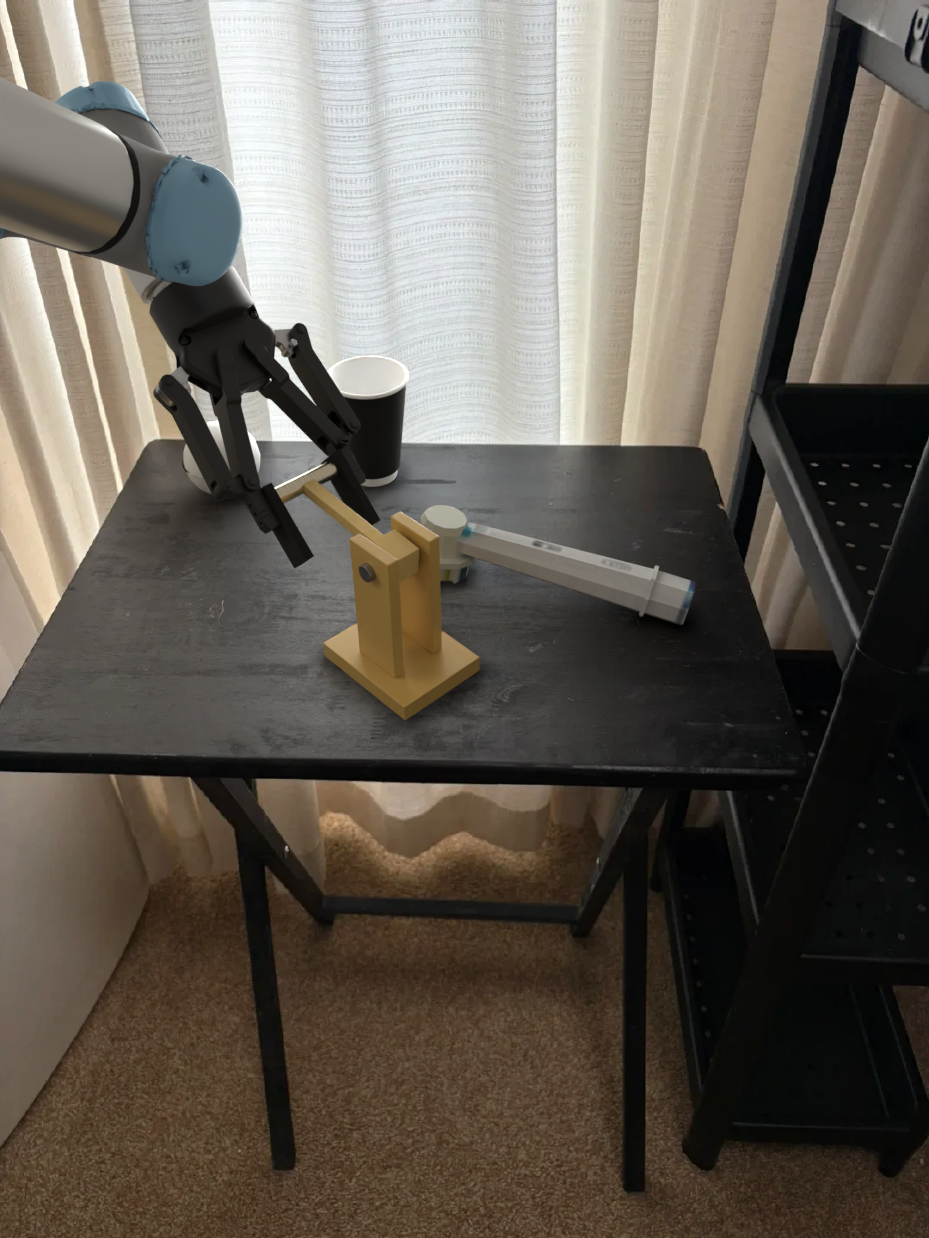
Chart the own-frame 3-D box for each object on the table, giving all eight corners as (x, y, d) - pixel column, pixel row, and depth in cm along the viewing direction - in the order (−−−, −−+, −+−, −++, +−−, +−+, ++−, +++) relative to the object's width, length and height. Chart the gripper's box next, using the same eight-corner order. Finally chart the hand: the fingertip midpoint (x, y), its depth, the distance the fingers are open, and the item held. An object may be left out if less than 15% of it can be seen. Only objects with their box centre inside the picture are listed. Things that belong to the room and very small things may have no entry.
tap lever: (268, 505, 82) (266, 481, 81) (328, 476, 86) (328, 452, 84) (376, 596, 76) (376, 572, 75) (437, 561, 79) (438, 537, 78)
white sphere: (206, 465, 107) (193, 402, 102) (275, 473, 106) (266, 409, 101) (166, 522, 99) (150, 457, 95) (240, 532, 98) (228, 466, 93)
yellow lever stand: (324, 656, 86) (308, 530, 77) (398, 611, 90) (391, 487, 81) (405, 720, 80) (397, 593, 72) (479, 670, 84) (481, 544, 76)
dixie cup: (428, 468, 106) (426, 370, 99) (378, 505, 101) (372, 405, 94) (369, 443, 110) (362, 347, 102) (318, 478, 105) (307, 379, 98)
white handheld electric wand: (691, 604, 84) (402, 513, 88) (669, 661, 89) (395, 572, 92) (701, 566, 88) (423, 480, 92) (679, 622, 93) (416, 538, 96)
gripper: (86, 301, 73) (254, 587, 75) (304, 228, 83) (447, 483, 85) (69, 345, 80) (224, 607, 82) (272, 272, 90) (406, 508, 92)
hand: (337, 543), depth 83 cm, fingers closed on tap lever, 6 cm apart
